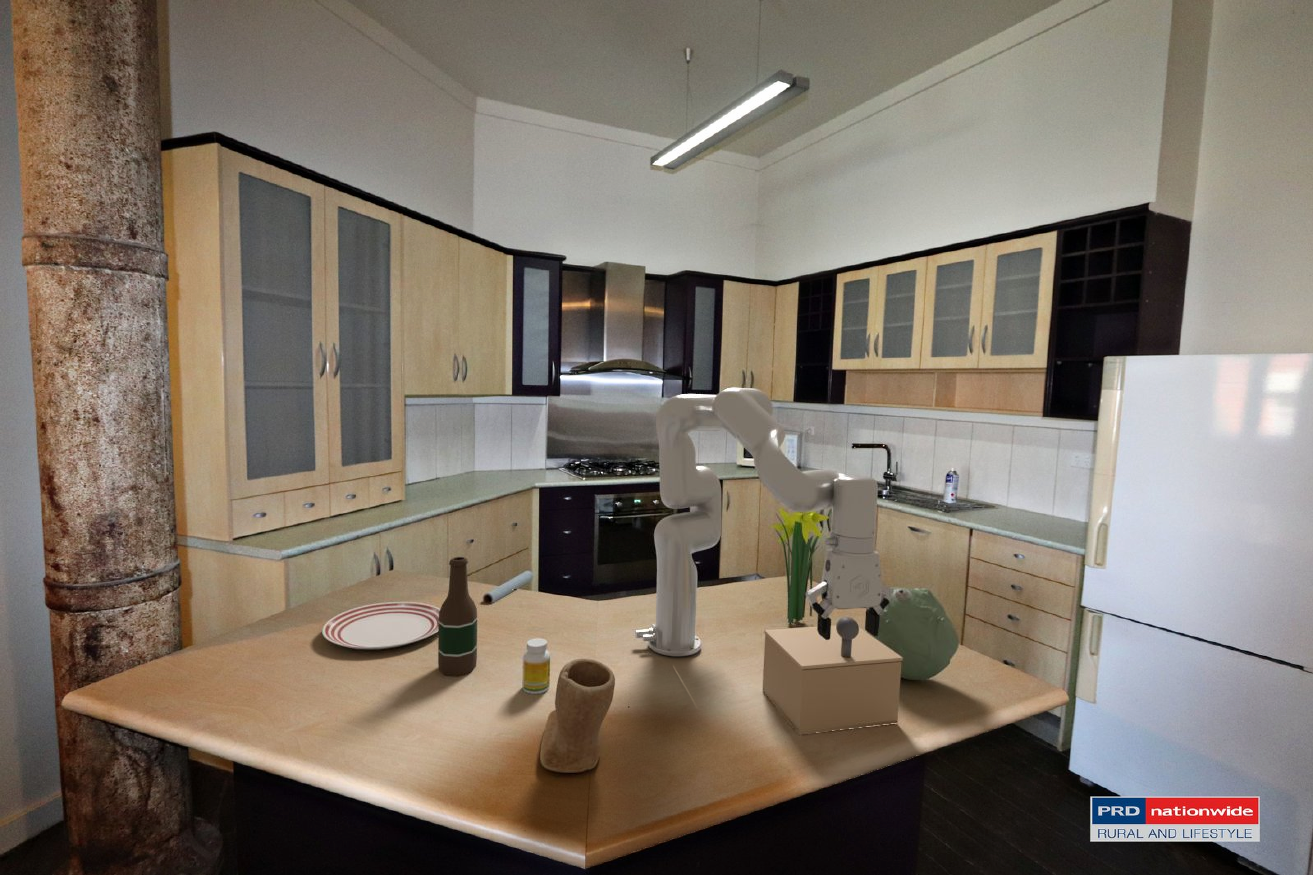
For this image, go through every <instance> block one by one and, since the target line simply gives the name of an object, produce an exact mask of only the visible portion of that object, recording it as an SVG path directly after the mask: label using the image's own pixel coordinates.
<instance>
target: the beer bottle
mask: <svg viewBox="0 0 1313 875" xmlns="http://www.w3.org/2000/svg"><path fill="white" fill-rule="evenodd" d="M468 564H469V561H468V558H466V557H464V556H456V557H452V558H451V559H450V560H449V563H448V565H449V566H450V570H449V581H448V593H447V596H446V598H445V599H444V601H443V603H442V604H441V607H440V612H439V620H438V632H437V633H438V634H437V635H438V636H437V638H438V642H437V643H438V644H437V647H438V648H437V659H438V660H437V663H438V665H437V666H438V671H439V672H440V673H441V674H442V675H443V676H444V677H456V678H457V677H462V676H465V675H467V674H470V673H472V672H473V671H474V669H475V668H476V666H477V660H478V659H477V658H478V610H477V609H478V608H477V605H476V604H475V601H474V600H473V599H472V597H471V596H470V593H469V588H468V587H469V586H468V584H469V583H468V571H467V570H468V568H467V565H468Z"/></svg>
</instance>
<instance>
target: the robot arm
mask: <svg viewBox="0 0 1313 875" xmlns="http://www.w3.org/2000/svg"><path fill="white" fill-rule="evenodd" d="M772 415H773V403H772V400H771V398H770V397H769V396H768V395H767V393H765V392H764V391H763V390H760V389H758V388H751V387H750V388H746V387H745V388H744V387H730V388H729V387H728V388H726V389H723V390H721V391H720V392H719V393H717V394H701V393H699V394H698V393H697V394H696V393H687V394H686V393H684V394H677V395H674V396H672V397H671V396H670V397H669V398H668V399H666V400H665V401H664V402H663V403H662V405H661V406H660V408H659V409H658V412H657V415H656V419H655V420H656V421H655V426H656V427H655V428H656V436H657V440H658V450H659V458H658V460H659V494H660V498H661V502H662V503H663V505H664V506H665V507H667V508H668V509H673V510H678V509H680V510H681V509H686V508H689V512H681V513H676V514H670V515H668V516H665V517H664V518H662V519H661V520H660V521H658V522H657V524H656V526H655V529H654V533H653V538H654V546H655V554H656V570H657V571H656V597H655V598H656V601H655V623H652V624H651V627H648V628H647V629H643V628H642V629H635V633H634V634H635V639H642V641H643V642H647V643H648V647H649V648H650V650H652V651H653V652H655V653H656V654H660V655H664V656H669V657H686V656H687V657H688V656H690V655H694V654H696V653H698V652H699V651H700V650H701V647H702V640H701V639H700V637H698V636H697V635H696V622H697V621H696V620H697V619H696V618H697V617H696V616H697V614H696V613H697V596H698V594H697V593H698V592H697V591H698V570H697V566H696V564H695V561H694V559H693V557H692V554H694V553H696V552H701V551H704V550H707V549H708V550H709V549H711V548H713V547H714V546H716V545H717V544H718V542H719V541H720V539H721V536H722V528H723V527H722V525H723V524H722V522H723V521H722V519H723V518H722V517H723V516H722V510H723V509H722V487H721V482H720V480H719V477H718V475H717V473H715V471H714V470H713V469H712V468H710V467H707V466H703V465H698V466H697V463H696V461H697V460H696V459H697V458H696V457H697V455H696V446H695V444H694V442H693V440H692V438H691V436H690V433H691V432H718V431H727V432H728V433H729V434H730V435H731V436H732V438H734V439H736V440H737V442H738V443H739V444H740V445H742V447H743V448H744V449H745V450H746V451H747V452H748V453H749V454H751V456H752V458H753V463H754V469H755V470H756V472H757V476H758V478H759V480H760V482H761V483H762V485H763V486H764V487H765V489H767V491H768V492H769V493H770V494H771V495H772V496H773V497H774V498H775V499H776V500H777V501H778V502H779V503H781V505H783V506H784V507H785V508H787V509H788V510H790V511H791V512H793V513H796V512H797V513H807V512H812V511H816V512H817V511H821V510H828V509H832V518H831V519H832V520H831V521H832V523H831V533H830V536H829V537H826V538H825V541H824V542H825V546H830V548H828V549H827V552H826V555H825V559H824V564H823V570H822V577H821V582H820V583H819V584H818V585H815V586H814V587H812V589H810V588H809V590H807V592H806V600H807V601H808V604H809V607H810V606H811V607H812V610H813V611H814V612H815V613H816V614H817V624H816V627H817V630H818V633H819V635H820V636H822V637H823V638H824V639H825V640H829V639H830V635H831V626H832V618H830V615H831V614H832V613H833V611H834V610H835V609H836V610H854V609H855V610H857V609H865V618H864V619H865V621H864V622H865V624H864V631H865V632H869V633H870V634H872V635H873V636H878V629H879V619H880V615H881V614H882V613H883V609H884V608H885V607H886V606H887V605H888V604H889V599H890V598H891V596H892V594H893V592H894V590H893V589H892V588H891V587H890V586H888V585H886V584H884V583H883V582H882V580H883V579H882V578H883V577H882V566H881V565H882V564H881V559H880V554H879V552H878V551H877V550H875V547H876V545H875V544H876V530H877V528H876V527H877V511H878V495H879V494H878V493H879V492H878V491H879V490H878V489H879V488H878V485H879V484H878V482H877V480H876V479H874V478H873V477H871V476H868V475H867V476H866V475H860V474H846V473H842V472H838V471H836V470H833V469H814V470H812V469H811V470H804V471H801V470H800V469H799V468H798V467H797V466H796V465H795V464H794V463H793V462H792V461H791V460H790V459H789V458H788V457H787V456H786V455H785V454H784V453H783V451H782V449H781V446H782V444H783V443H784V440H785V437H786V430H785V428H784V427H783V425H782V424H781V423H780V422H779V421H777V420H776V418H774V417H773V416H772ZM819 596H820V598H821V601H820V602H818V599H817V598H818V597H819ZM866 608H869V609H866Z"/></svg>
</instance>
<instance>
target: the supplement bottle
mask: <svg viewBox="0 0 1313 875" xmlns="http://www.w3.org/2000/svg"><path fill="white" fill-rule="evenodd" d="M547 649H548V641H547V639H545V638H542V637H541V638H540V637H538V638H532V639H529V640H528V641H527V642H526V651H525V652H524V653H523V655H522V690H523V691H524V693H526V692H527V694H529V693H530V695H539V694H544V693H545V692H547V691H548V690H549V688H550V686H551V685H550V683H551V682H550V681H551V680H550V677H551V675H550V673H551V653H550V651H549V650H547Z"/></svg>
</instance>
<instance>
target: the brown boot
mask: <svg viewBox="0 0 1313 875" xmlns="http://www.w3.org/2000/svg"><path fill="white" fill-rule="evenodd" d="M615 684H616V678H615V675H614V672H613V671H612V670H611V668H610V667H608V666H607V665H606V664H604V663H603V662H600V661H598V660H595V659H590V658H577V659H574V660H571V661H569V662H567V663H565V664H564V666H563V667H562V669H561V670H560V672H559V674H558V678H557V682H556V691H555V699H554V706H555V707H554V708H555V709H554V710H552V711H550V713H549V714H548V717H547V720H546V723H545V728H544V732H543V737H542V741H541V744H540V745H541V746H540V752H539V759H540V763H541V765H542V767H543V768H545V769H546V770H549V771H552V772H555V773H556V772H557V773H563V774H570V773H571V774H574V773H581V772H585V771H587V770H588V771H590V770H592V769H594V768H595V767H596V765H597V763H598V762H599V760H600V756H601V752H602V744H603V743H602V740H603V739H602V725H603V722H604V720H605V718H606V716H607V714H608V712H609V709H610V708H611V706H612V702H613V699H614V692H615V686H616V685H615Z"/></svg>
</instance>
